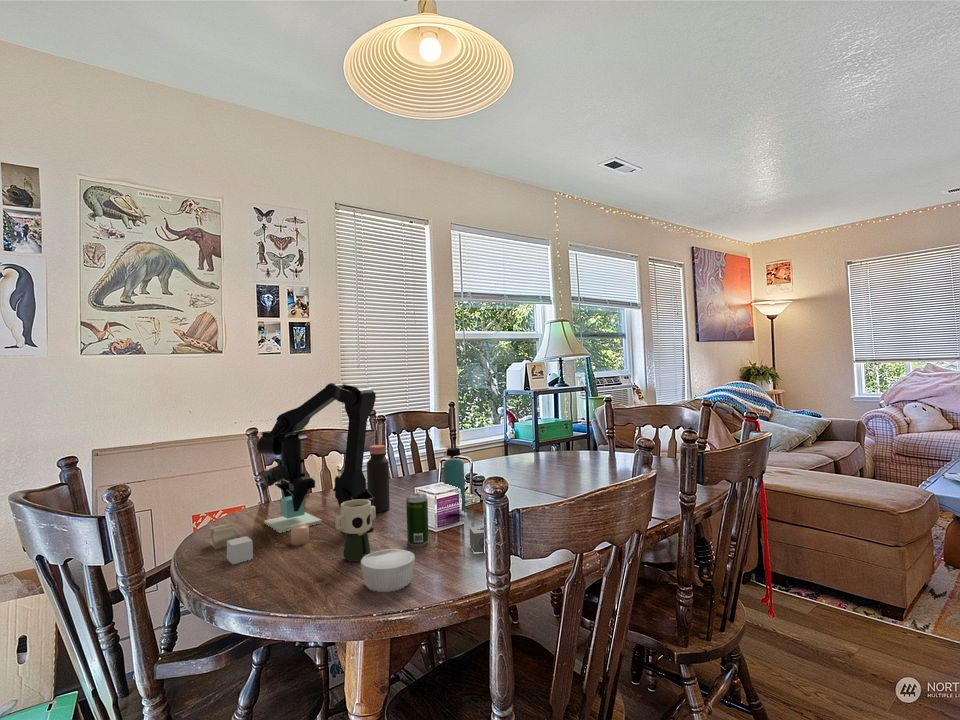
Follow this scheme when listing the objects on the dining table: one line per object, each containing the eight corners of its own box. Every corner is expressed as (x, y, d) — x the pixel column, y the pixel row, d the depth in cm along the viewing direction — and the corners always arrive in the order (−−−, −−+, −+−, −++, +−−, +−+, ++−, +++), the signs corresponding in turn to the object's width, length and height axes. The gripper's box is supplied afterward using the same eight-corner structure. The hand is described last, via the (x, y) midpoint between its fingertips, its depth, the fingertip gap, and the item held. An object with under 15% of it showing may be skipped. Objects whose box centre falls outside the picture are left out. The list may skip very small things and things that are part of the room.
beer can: (430, 545, 127) (429, 497, 127) (409, 548, 125) (408, 499, 125) (425, 538, 132) (424, 492, 132) (405, 541, 130) (404, 494, 130)
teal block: (304, 514, 147) (304, 497, 147) (287, 518, 144) (287, 500, 144) (297, 511, 151) (297, 494, 151) (280, 515, 147) (280, 497, 147)
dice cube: (494, 552, 121) (494, 531, 121) (474, 554, 120) (473, 533, 120) (489, 545, 126) (489, 525, 126) (470, 547, 125) (469, 527, 125)
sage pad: (321, 523, 147) (321, 519, 147) (280, 533, 139) (279, 529, 139) (304, 514, 156) (304, 511, 156) (264, 523, 148) (264, 520, 148)
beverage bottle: (456, 519, 147) (454, 450, 148) (439, 515, 151) (437, 448, 152) (470, 513, 153) (468, 447, 153) (453, 510, 157) (452, 445, 157)
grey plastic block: (252, 559, 120) (252, 540, 120) (232, 564, 117) (232, 545, 117) (246, 554, 124) (246, 536, 124) (227, 559, 121) (226, 540, 121)
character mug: (345, 569, 113) (344, 511, 113) (328, 561, 117) (327, 505, 118) (385, 555, 121) (383, 500, 121) (367, 548, 126) (366, 495, 126)
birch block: (234, 545, 131) (234, 527, 131) (215, 549, 128) (215, 531, 128) (229, 540, 134) (229, 523, 134) (210, 545, 131) (210, 527, 131)
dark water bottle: (365, 508, 161) (364, 445, 161) (386, 505, 164) (385, 443, 164) (370, 513, 155) (369, 448, 155) (392, 510, 158) (390, 446, 158)
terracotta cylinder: (311, 542, 131) (311, 526, 131) (294, 546, 128) (294, 530, 128) (304, 538, 134) (304, 523, 134) (288, 542, 131) (287, 527, 132)
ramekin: (394, 568, 113) (393, 544, 113) (426, 582, 105) (426, 556, 105) (350, 584, 105) (349, 559, 105) (382, 601, 97) (381, 573, 97)
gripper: (251, 455, 149) (253, 509, 149) (275, 464, 135) (276, 522, 135) (289, 450, 156) (290, 501, 156) (315, 458, 143) (316, 513, 142)
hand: (292, 509), depth 147 cm, fingers closed on teal block, 5 cm apart
